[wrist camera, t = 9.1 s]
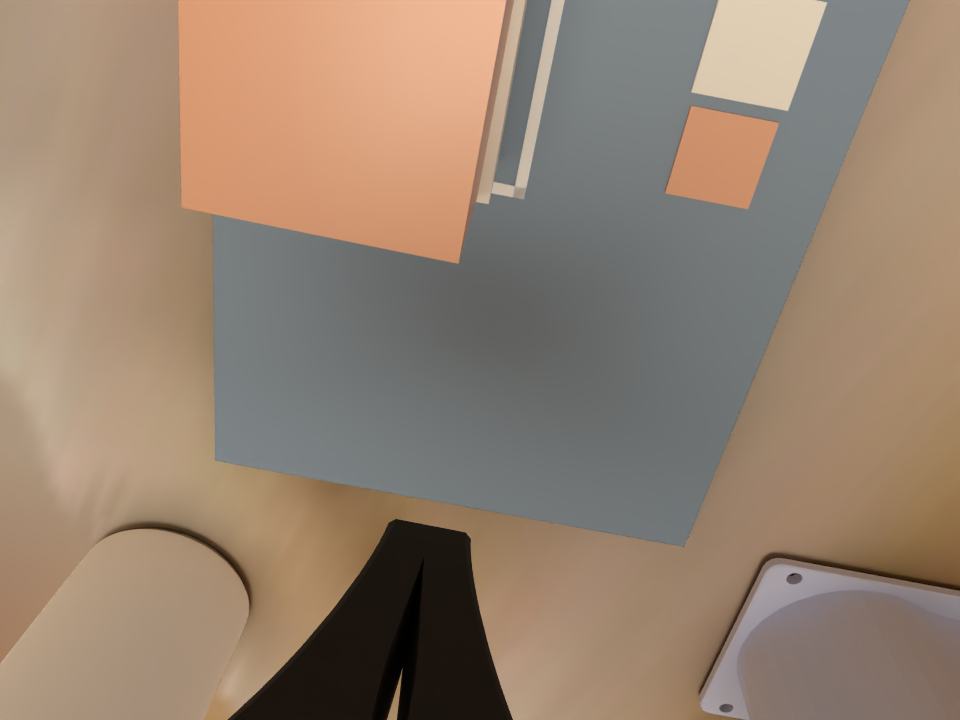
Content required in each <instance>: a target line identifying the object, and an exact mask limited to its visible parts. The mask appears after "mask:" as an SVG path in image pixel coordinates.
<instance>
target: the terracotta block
mask: <svg viewBox="0 0 960 720" xmlns="http://www.w3.org/2000/svg"><path fill="white" fill-rule="evenodd" d="M513 4H514V0H178V10H179V73H180V136H181V199H182V208H185V209H190V210H195V211H200V212H205V213H210V214H215V215H220V216H225V217H230V218H235V219H240V220H245V221H250V222H255V223H260V224H264V225H269V226H274V227H279V228H284V229H289V230H294V231H299V232H304V233H309V234H314V235H319V236H324V237H329V238H334V239H339V240H343V241H348V242H353V243H358V244H363V245H368V246H373V247H378V248H383V249H388V250H393V251H398V252H403V253H408V254H413V255H418V256H423V257H427V258H432V259H437V260H442V261H447V262H452V263H457V264H459V260H460V257H461V253H462V249H463V246H464V242H465V239H466V235H467V232H468V228H469V225H470V221H471V218H472V214H473V211H474V207H475V203H476V200H477V196H478V191H479V186H480V181H481V175H482V170H483V165H484V159H485V154H486V149H487V143H488V138H489V132H490V127H491V122H492V116H493V111H494V106H495V100H496V95H497V90H498V84H499V79H500V74H501V68H502V63H503V58H504V52H505V47H506V41H507V36H508V31H509V25H510V20H511V15H512V9H513Z"/></svg>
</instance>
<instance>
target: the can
mask: <svg viewBox="0 0 960 720" xmlns="http://www.w3.org/2000/svg"><path fill="white" fill-rule="evenodd" d="M248 615H249V599H248V595H247V592H246V589H245V587H244V585H243V583H242V580H241V578H240V576H239V575H238V573H237V571H236V570H235V568H234V567H233V566H232V565H231V563H230V562H229V561H228V560H227V559H226V558H225V557H224V556H223V555H221V554H220V553H219V552H218V551H216V550H215V549H214V548H212V547H211V546H209V545H208V544H206V543H204V542H202V541H200V540H198V539H196V538H194V537H192V536H189V535H187V534H184V533H180V532H177V531H173V530H168V529H160V528H141V529H134V530H127V531H122V532H118V533H115V534H112V535H110V536H108V537H106V538H104V539H103V540H101V541H100V542H98V543H97V544H96V545H94V546H93V547H92V548H91V549H90V551H89V552H88V553H87V554H86V555H85V557H84V558H83V559H82V560H81V562H80V563H79V564H78V565H77V567H76V568H75V569H74V570H73V572H72V573H71V574H70V575H69V577H68V578H67V579H66V580H65V582H64V583H63V584H62V586H61V587H60V588H59V590H58V591H57V592H56V593H55V594H54V596H53V597H52V598H51V600H50V601H49V602H48V603H47V605H46V606H45V607H44V608H43V610H42V611H41V612H40V614H39V615H38V616H37V617H36V619H35V620H34V621H33V622H32V624H31V625H30V626H29V628H28V629H27V630H26V631H25V633H24V634H23V635H22V637H21V638H20V639H19V640H18V642H17V643H16V644H15V646H14V647H13V648H12V649H11V651H10V652H9V653H8V654H7V656H6V657H5V658H4V660H3V661H2V662H1V663H0V720H204V718H205V715H206V713H207V711H208V709H209V706H210V704H211V702H212V700H213V698H214V695H215V693H216V691H217V689H218V686H219V684H220V682H221V680H222V677H223V675H224V673H225V671H226V669H227V666H228V664H229V662H230V660H231V657H232V655H233V653H234V651H235V648H236V646H237V644H238V642H239V639H240V637H241V635H242V632H243V630H244V628H245V625H246V622H247V619H248Z"/></svg>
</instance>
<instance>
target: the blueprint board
mask: <svg viewBox="0 0 960 720" xmlns="http://www.w3.org/2000/svg"><path fill="white" fill-rule="evenodd" d="M909 1H910V0H528V1H527V6H526V12H525V17H524V23H523V28H522V34H521V39H520V45H519V50H518V56H517V61H516V67H515V72H514V78H513V83H512V89H511V94H510V100H509V105H508V110H507V116H506V121H505V127H504V132H503V138H502V143H501V149H500V154H499V160H498V164H497V169H496V173H495V178H494V182H493V187H492V191H491V195H490V200H489V204H485V203H479V202H476V203H475V207H474V211H473V214H472V218H471V221H470V225H469V228H468V232H467V235H466V239H465V242H464V246H463V249H462V253H461V257H460V260H459V264H457V263H452V262H447V261H442V260H437V259H432V258H427V257H423V256H418V255H413V254H408V253H403V252H398V251H393V250H388V249H383V248H378V247H373V246H368V245H363V244H358V243H353V242H348V241H343V240H339V239H334V238H329V237H324V236H319V235H314V234H309V233H304V232H299V231H294V230H289V229H284V228H279V227H274V226H269V225H264V224H260V223H255V222H250V221H245V220H240V219H235V218H230V217H225V216H220V215H215V214H213V261H214V383H215V461H219V462H225V463H230V464H236V465H241V466H247V467H252V468H257V469H263V470H268V471H274V472H279V473H285V474H290V475H296V476H301V477H306V478H312V479H317V480H323V481H328V482H334V483H339V484H345V485H350V486H355V487H361V488H366V489H372V490H377V491H383V492H388V493H393V494H399V495H404V496H410V497H415V498H421V499H426V500H432V501H437V502H442V503H448V504H453V505H459V506H464V507H470V508H475V509H480V510H486V511H491V512H497V513H502V514H508V515H513V516H519V517H524V518H529V519H535V520H540V521H546V522H551V523H557V524H562V525H567V526H573V527H578V528H584V529H589V530H595V531H600V532H606V533H611V534H616V535H622V536H627V537H633V538H638V539H644V540H649V541H655V542H660V543H665V544H671V545H676V546H682V547H684V546H685V544H686V541H687V539H688V537H689V534H690V532H691V529H692V527H693V524H694V522H695V520H696V517H697V515H698V512H699V510H700V507H701V505H702V503H703V500H704V498H705V495H706V493H707V491H708V488H709V486H710V483H711V481H712V478H713V476H714V474H715V471H716V469H717V466H718V464H719V461H720V459H721V457H722V454H723V452H724V449H725V447H726V444H727V442H728V440H729V437H730V435H731V432H732V430H733V427H734V425H735V423H736V420H737V418H738V415H739V413H740V411H741V408H742V406H743V403H744V401H745V398H746V396H747V394H748V391H749V389H750V386H751V384H752V381H753V379H754V377H755V374H756V372H757V369H758V367H759V364H760V362H761V360H762V357H763V355H764V352H765V350H766V347H767V345H768V343H769V340H770V338H771V335H772V333H773V331H774V328H775V326H776V323H777V321H778V318H779V316H780V314H781V311H782V309H783V306H784V304H785V301H786V299H787V297H788V294H789V292H790V289H791V287H792V284H793V282H794V280H795V277H796V275H797V272H798V270H799V268H800V265H801V263H802V260H803V258H804V255H805V253H806V251H807V248H808V246H809V243H810V241H811V238H812V236H813V234H814V231H815V229H816V226H817V224H818V221H819V219H820V217H821V214H822V212H823V209H824V207H825V204H826V202H827V200H828V197H829V195H830V192H831V190H832V188H833V185H834V183H835V180H836V178H837V175H838V173H839V171H840V168H841V166H842V163H843V161H844V158H845V156H846V154H847V151H848V149H849V146H850V144H851V141H852V139H853V137H854V134H855V132H856V129H857V127H858V124H859V122H860V120H861V117H862V115H863V112H864V110H865V108H866V105H867V103H868V100H869V98H870V95H871V93H872V91H873V88H874V86H875V83H876V81H877V78H878V76H879V74H880V71H881V69H882V66H883V64H884V61H885V59H886V57H887V54H888V52H889V49H890V47H891V45H892V42H893V40H894V37H895V35H896V32H897V30H898V28H899V25H900V23H901V20H902V18H903V15H904V13H905V11H906V8H907V6H908V3H909Z"/></svg>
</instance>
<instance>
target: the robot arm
mask: <svg viewBox="0 0 960 720" xmlns="http://www.w3.org/2000/svg"><path fill="white" fill-rule="evenodd" d="M470 543H471V539H470V538H469V536H468V535H467V534H466V533H465V532H460V531H455V530H450V529H444V528H439V527H434V526H429V525H424V524H419V523H414V522H408V521H403V520H398V519H395V520H393V521H391V522H390V523H388V526H387V528H386V530H385V532H384V534H383V536H382V538H381V540H380V542H379V544H378V545H377V547H376V549H375V550H374V552H373V554H372V555H371V557H370V558H369V560H368V561H367V563H366V565H365V566H364V568H363V569H362V571H361V572H360V574H359V575H358V576H357V578H356V579H355V580H354V582H353V583H352V585H351V586H350V587H349V589H348V590H347V591H346V593H345V594H344V595H343V597H342V598H341V599H340V601H339V602H338V603H337V605H336V606H335V607H334V609H333V610H332V611H331V612H330V614H329V615H328V616H327V617H326V618H325V619H324V621H323V622H322V623H321V624H320V625H319V627H318V628H317V629H316V630H315V631H314V632H313V634H312V635H311V636H310V637H309V638H308V640H307V641H306V642H305V643H304V644H303V645H302V646H301V648H300V649H299V650H298V651H297V652H296V653H295V654H294V655H293V656H292V657H291V658H290V660H289V661H288V662H287V663H286V664H285V665H284V666H283V667H282V668H281V669H280V670H279V671H278V672H277V673H276V674H275V675H274V676H273V677H272V678H271V679H270V680H269V681H268V682H267V683H266V684H265V685H264V686H263V687H262V688H261V689H260V690H259V691H258V692H257V693H256V694H255V695H254V696H253V697H252V698H251V699H250V700H248V701H247V702H246V703H245V704H244V705H243V706H242V707H241V708H240V709H239V710H238V711H237V712H236V713H234V714H233V715H232V716H231V717H230V718H229V719H228V720H387V718H388V714H389V711H390V708H391V704H392V701H393V698H394V694H395V691H396V688H397V685H398V681H399V678H400V675H401V671H402V679H401V688H400V697H399V706H398V715H397V720H513V719H512V716H511V714H510V711H509V708H508V705H507V703H506V700H505V697H504V694H503V691H502V688H501V685H500V682H499V679H498V676H497V673H496V670H495V666H494V663H493V660H492V656H491V653H490V649H489V646H488V642H487V638H486V634H485V630H484V626H483V622H482V618H481V614H480V610H479V605H478V600H477V595H476V590H475V584H474V578H473V571H472V562H471V548H470ZM792 573H797V574H795V575H793V576H788V575H790V574H792ZM402 668H403V670H402ZM699 703H700V706H701V709H702V710H704V711H705V712H708V713H711V714H717V715H723V716H728V717H734V718H739V719H745V720H960V591H958V590H953V589H947V588H942V587H936V586H931V585H925V584H920V583H915V582H909V581H904V580H898V579H893V578H887V577H882V576H877V575H871V574H866V573H860V572H855V571H849V570H844V569H838V568H833V567H828V566H822V565H817V564H811V563H806V562H800V561H795V560H790V559H784V558H774V559H771V560H769V561H767V562H766V563H765V564H764V566H763V567H762V569H761V571H760V573H759V575H758V577H757V579H756V581H755V583H754V585H753V588H752V590H751V592H750V594H749V596H748V598H747V600H746V602H745V604H744V606H743V608H742V610H741V612H740V614H739V616H738V618H737V620H736V622H735V624H734V626H733V628H732V630H731V632H730V634H729V636H728V638H727V640H726V642H725V644H724V646H723V649H722V651H721V653H720V655H719V657H718V659H717V661H716V663H715V665H714V667H713V669H712V671H711V673H710V675H709V677H708V679H707V681H706V683H705V685H704V687H703V689H702V691H701V693H700V695H699Z"/></svg>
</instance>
